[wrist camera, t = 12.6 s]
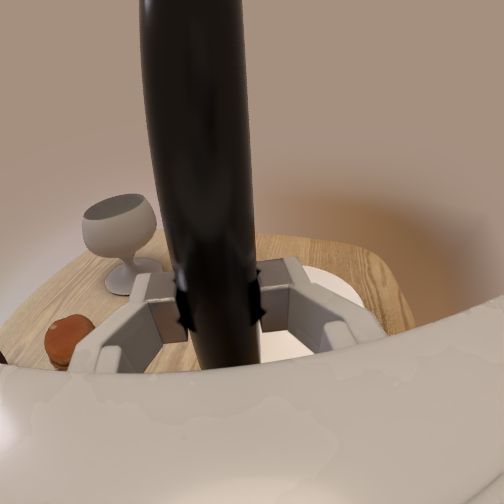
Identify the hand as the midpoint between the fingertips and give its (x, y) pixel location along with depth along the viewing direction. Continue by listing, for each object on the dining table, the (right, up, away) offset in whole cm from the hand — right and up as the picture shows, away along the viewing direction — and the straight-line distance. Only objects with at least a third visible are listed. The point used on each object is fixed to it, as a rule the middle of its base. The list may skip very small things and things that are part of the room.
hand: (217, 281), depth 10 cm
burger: (-26, -14, +26) cm, 39 cm away
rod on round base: (+1, -11, +6) cm, 13 cm away
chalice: (-22, -4, +42) cm, 48 cm away
